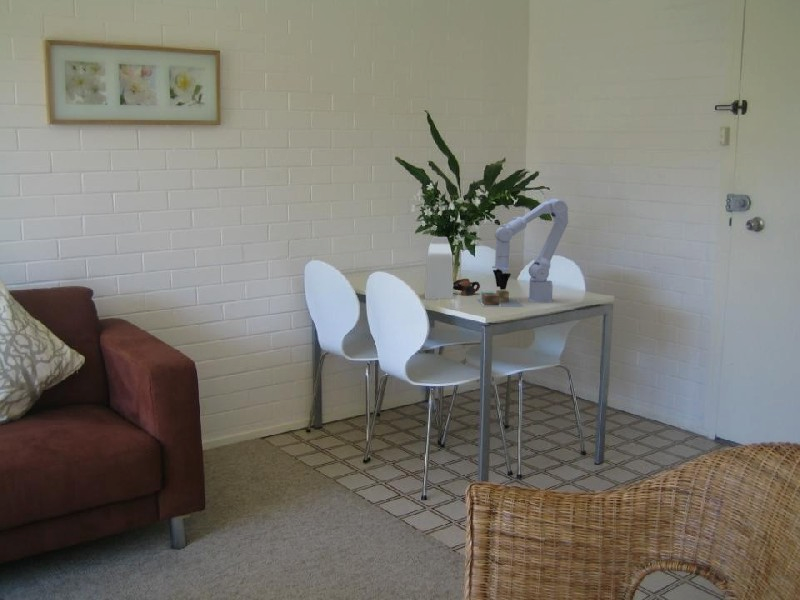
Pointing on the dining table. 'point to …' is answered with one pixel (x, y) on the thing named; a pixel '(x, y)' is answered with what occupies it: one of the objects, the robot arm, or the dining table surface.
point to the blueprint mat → (504, 303)
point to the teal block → (486, 292)
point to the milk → (439, 270)
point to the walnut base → (490, 299)
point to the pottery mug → (466, 287)
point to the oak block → (503, 295)
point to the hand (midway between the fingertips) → (501, 288)
